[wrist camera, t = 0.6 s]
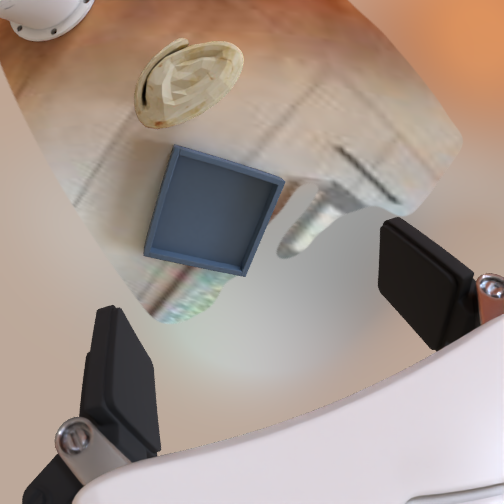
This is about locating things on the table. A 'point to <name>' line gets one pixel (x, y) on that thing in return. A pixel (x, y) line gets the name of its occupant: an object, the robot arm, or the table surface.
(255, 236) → the serving tray
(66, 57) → the table surface
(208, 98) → the food model
